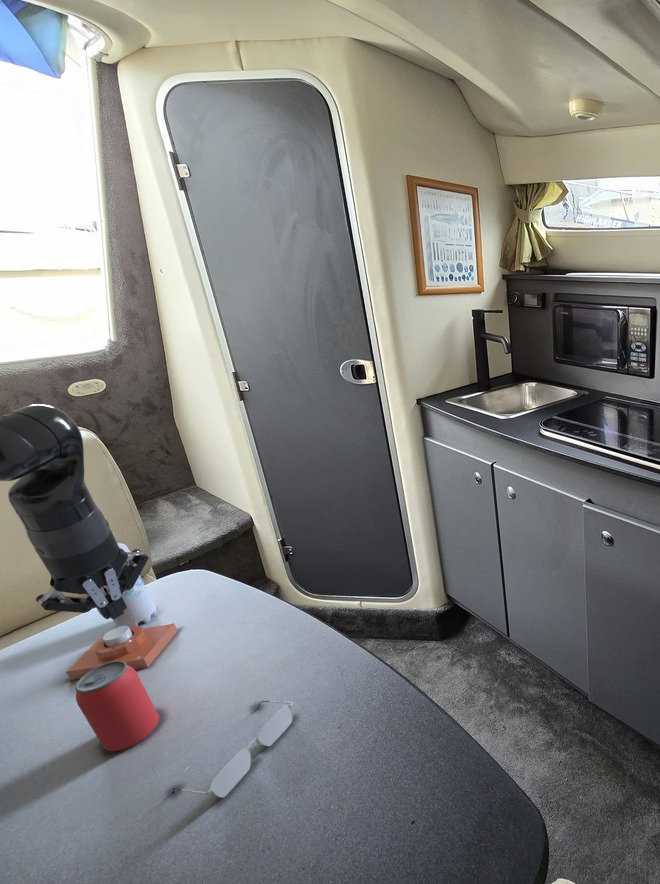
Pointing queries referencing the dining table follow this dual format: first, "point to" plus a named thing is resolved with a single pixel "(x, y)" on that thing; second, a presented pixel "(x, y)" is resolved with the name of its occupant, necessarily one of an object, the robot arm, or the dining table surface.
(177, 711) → the dining table surface
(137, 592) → the bottle
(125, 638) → the white push button
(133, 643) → the orange button base
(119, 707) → the beer can
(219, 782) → the eyeglasses
